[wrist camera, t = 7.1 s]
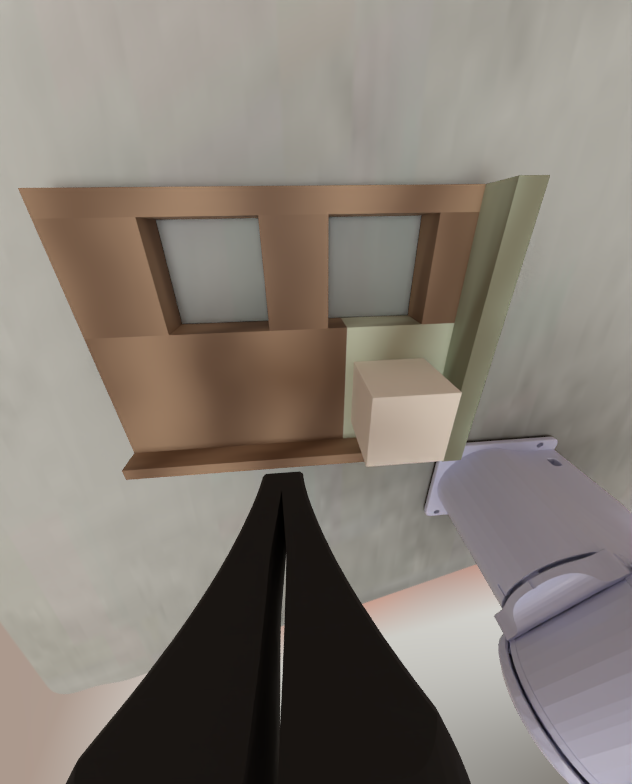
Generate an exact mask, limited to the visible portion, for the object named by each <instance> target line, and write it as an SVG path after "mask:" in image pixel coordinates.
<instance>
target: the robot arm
mask: <svg viewBox="0 0 632 784" xmlns="http://www.w3.org/2000/svg"><path fill="white" fill-rule="evenodd" d="M557 443H558V441H557V440H556V439H555V438H554V437H538V438H525V439H511V440H498V441H484V442H470V443H466V445H465V448H464V451H463V455H462V458H461V460H456V461H443V462H442V461H437V462H436V466H435V469H434V473H433V477H432V481H431V485H430V489H429V493H428V497H427V500H426V504H425V508H424V512H425V514H426V515H428V516H432V515H443V514H448V515H449V517H450V519H451V520H452V522H453V524H454V526H455V527H456V529H457V531H458V532H459V534H460V536H461V538H462V539H463V541H464V543H465V545H466V546H467V548H468V550H469V552H470V553H471V555H472V557H473V559H474V560H475V562H476V564H477V565H478V567H479V569H480V571H481V572H482V574H483V576H484V577H485V579H486V581H487V583H488V584H489V586H490V588H491V590H492V592H493V593H494V595H495V597H496V598H497V600H498V602H499V604H500V606H501V607H502V610H501V611H500V612H499V613H497V614H495V616H494V617H495V618H496V620H497V622H498V624H499V626H500V628H501V630H502V632H503V633H504V634H503V635H502V636H501V638H500V640H499V644H498V645H499V658H500V663H501V668H502V673H503V677H504V680H505V684H506V687H507V689H508V692H509V695H510V697H511V699H512V702H513V704H514V706H515V708H516V710H517V712H518V714H519V716H520V718H521V720H522V722H523V723H524V725H525V727H526V729H527V730H528V732H529V733H530V735H531V737H532V738H533V740H534V741H535V743H536V744H537V746H538V747H539V748H540V750H541V751H542V753H543V754H544V756H545V757H546V758H547V759H548V761H549V762H550V763H551V765H552V766H553V767H554V768H555V769H556V770H557V771H558V773H559V774H560V775H561V776H562V777H563V778H564V779H565V780H566V781H567V782H568V783H569V784H632V513H631V512H630V511H629V510H628V509H627V508H626V507H625V506H624V505H623V504H621V503H620V502H619V501H618V500H616V499H615V498H614V497H613V496H611V495H610V494H609V493H608V492H606V491H605V490H604V489H603V488H601V487H600V486H599V485H598V484H596V483H595V482H594V481H593V480H592V479H590V478H589V477H588V476H587V475H585V474H584V473H583V472H582V471H580V470H579V469H578V468H577V467H575V466H574V465H573V464H572V463H570V462H569V461H568V460H567V459H565V458H564V457H563V456H562V455H560V454H559V453H558V452H557V451H555V450H554V449H555V447H556V445H557ZM285 561H286V597H285V628H284V653H283V654H284V655H283V681H282V701H281V702H282V703H281V722H280V634H281V631H280V629H281V609H282V597H283V585H284V573H285ZM66 784H471V783H470V780H469V777H468V774H467V772H466V769H465V767H464V765H463V762H462V760H461V757H460V755H459V753H458V751H457V748H456V746H455V744H454V742H453V740H452V738H451V736H450V734H449V732H448V730H447V728H446V726H445V724H444V722H443V720H442V718H441V717H440V715H439V713H438V711H437V709H436V707H435V706H434V705H433V703H432V702H431V701H430V699H429V698H428V697H427V696H426V694H425V693H424V692H423V690H422V689H421V688H420V686H419V685H418V684H417V682H416V681H415V680H414V678H413V677H412V676H411V674H410V673H409V672H408V670H407V669H406V668H405V666H404V665H403V664H402V662H401V661H400V660H399V658H398V657H397V655H396V654H395V652H394V651H393V650H392V648H391V647H390V646H389V644H388V643H387V641H386V640H385V638H384V637H383V635H382V634H381V632H380V631H379V629H378V628H377V626H376V625H375V623H374V622H373V621H372V619H371V617H370V616H369V614H368V613H367V611H366V610H365V608H364V607H363V605H362V604H361V602H360V600H359V599H358V597H357V596H356V594H355V592H354V591H353V589H352V587H351V586H350V584H349V582H348V581H347V579H346V577H345V575H344V573H343V572H342V570H341V568H340V566H339V565H338V563H337V561H336V559H335V557H334V555H333V553H332V551H331V549H330V547H329V545H328V543H327V541H326V539H325V537H324V535H323V533H322V530H321V528H320V526H319V524H318V521H317V519H316V516H315V514H314V512H313V509H312V506H311V504H310V501H309V498H308V495H307V491H306V488H305V483H304V478H303V474H302V473H301V472H288V473H275V474H266V475H265V476H263V479H262V482H261V485H260V488H259V491H258V494H257V496H256V499H255V501H254V503H253V506H252V508H251V510H250V512H249V515H248V517H247V519H246V521H245V523H244V525H243V527H242V529H241V531H240V533H239V535H238V537H237V539H236V541H235V543H234V545H233V546H232V548H231V550H230V552H229V554H228V556H227V558H226V559H225V561H224V563H223V564H222V566H221V568H220V570H219V571H218V573H217V575H216V576H215V578H214V580H213V581H212V583H211V584H210V586H209V588H208V589H207V591H206V592H205V594H204V595H203V597H202V598H201V600H200V601H199V603H198V604H197V606H196V607H195V609H194V610H193V612H192V613H191V615H190V616H189V618H188V619H187V621H186V622H185V624H184V625H183V626H182V628H181V629H180V631H179V632H178V633H177V635H176V636H175V638H174V639H173V640H172V642H171V643H170V644H169V646H168V647H167V648H166V650H165V651H164V652H163V654H162V655H161V656H160V658H159V659H158V660H157V662H156V663H155V664H154V666H153V667H152V668H151V670H150V671H149V672H148V674H147V675H146V677H145V678H144V679H143V680H142V682H141V683H140V684H139V685H138V687H137V688H136V689H135V691H134V692H133V693H132V694H131V696H130V697H129V698H128V700H127V701H126V702H125V703H124V704H123V705H122V707H121V708H120V709H119V710H118V711H117V713H116V714H115V715H114V716H113V717H112V719H111V720H110V721H109V722H108V724H107V725H106V726H105V727H104V728H103V730H102V731H101V732H100V733H99V735H98V736H97V737H96V738H95V739H94V741H93V742H92V743H91V744H90V746H89V747H88V748H87V749H86V751H85V752H84V753H83V754H82V755H81V757H80V758H79V759H78V761H77V763H76V765H75V767H74V769H73V771H72V772H71V775H70V776H69V778H68V780H67V783H66Z"/></svg>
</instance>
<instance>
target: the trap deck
mask: <svg viewBox="0 0 632 784" xmlns="http://www.w3.org/2000/svg"><path fill="white" fill-rule="evenodd" d="M549 178H550V175H519V176H515V177H512V178H508V179H504V180H500V181H496V182H492V183H489V184H452V185H332V186H211V187H91V188H18V189H19V191H20V194H21V196H22V198H23V201H24V203H25V205H26V207H27V210H28V212H29V214H30V216H31V219H32V221H33V223H34V226H35V228H36V230H37V232H38V235H39V237H40V239H41V241H42V244H43V246H44V248H45V251H46V253H47V255H48V257H49V260H50V262H51V264H52V266H53V269H54V271H55V273H56V276H57V278H58V280H59V282H60V285H61V287H62V289H63V292H64V294H65V296H66V298H67V301H68V303H69V305H70V307H71V310H72V312H73V314H74V317H75V319H76V321H77V323H78V326H79V328H80V330H81V332H82V335H83V337H84V339H85V342H86V344H87V346H88V348H89V351H90V353H91V355H92V357H93V360H94V362H95V364H96V367H97V369H98V371H99V373H100V376H101V378H102V380H103V382H104V385H105V387H106V389H107V392H108V394H109V396H110V398H111V401H112V403H113V405H114V408H115V410H116V412H117V414H118V417H119V419H120V421H121V423H122V426H123V428H124V430H125V433H126V435H127V437H128V439H129V442H130V444H131V446H132V448H133V451H134V455H133V456H132V457H131V459H130V460H129V462H128V463H127V464H126V466H125V467H124V469H123V470H122V472H123V474H124V476H125V478H126V480H129V479H142V478H155V477H169V476H182V475H195V474H208V473H221V472H234V471H247V470H261V469H274V468H287V467H300V466H313V465H326V464H339V463H352V462H365V461H364V458H363V456H362V453H361V450H360V447H359V444H358V441H357V438H356V435H355V432H354V429H353V426H352V423H351V406H352V387H353V367H354V362H359V361H378V360H397V359H416V358H424V359H425V360H426V361H427V362H429V363H430V364H431V365H432V366H433V367H434V368H435V369H436V370H437V371H439V372H440V373H441V374H442V375H443V376H444V377H445V378H446V379H447V380H449V381H450V382H451V383H452V384H453V385H454V386H455V387H456V388H457V389H459V390H460V391H461V392H462V395H461V398H460V402H459V406H458V409H457V413H456V417H455V420H454V424H453V428H452V431H451V435H450V439H449V442H448V446H447V450H446V453H445V457H444V461H456V460H461V458H462V455H463V451H464V448H465V445H466V442H467V439H468V436H469V432H470V429H471V426H472V423H473V420H474V416H475V413H476V410H477V407H478V404H479V401H480V397H481V394H482V391H483V388H484V385H485V381H486V378H487V375H488V372H489V369H490V366H491V362H492V359H493V356H494V353H495V350H496V346H497V343H498V340H499V337H500V334H501V331H502V327H503V324H504V321H505V318H506V315H507V311H508V308H509V305H510V302H511V299H512V295H513V292H514V289H515V286H516V283H517V280H518V276H519V273H520V270H521V267H522V264H523V260H524V257H525V254H526V251H527V248H528V245H529V241H530V238H531V235H532V232H533V229H534V225H535V222H536V219H537V216H538V213H539V210H540V206H541V203H542V200H543V197H544V194H545V190H546V187H547V184H548V181H549ZM415 215H422V218H421V225H420V232H419V239H418V246H417V253H416V260H415V267H414V274H413V281H412V288H411V295H410V302H409V309H408V315H398V316H374V317H349V318H328V217H352V216H415ZM227 218H258V220H259V230H260V240H261V249H262V259H263V269H264V279H265V289H266V299H267V309H268V319H269V321H251V322H226V323H202V324H182V322H181V318H180V315H179V311H178V307H177V303H176V299H175V295H174V291H173V287H172V283H171V279H170V275H169V271H168V267H167V264H166V260H165V256H164V252H163V248H162V244H161V240H160V236H159V232H158V228H157V224H156V220H164V219H227ZM442 462H443V461H442Z"/></svg>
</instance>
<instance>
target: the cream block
mask: <svg viewBox="0 0 632 784" xmlns="http://www.w3.org/2000/svg"><path fill="white" fill-rule="evenodd" d="M461 395H462V392H461V391H460V390H459V389H457V388H456V387H455V386H454V385H453V384H452V383H451V382H450V381H449V380H447V379H446V378H445V377H444V376H443V375H442V374H441V373H440V372H439V371H437V370H436V369H435V368H434V367H433V366H432V365H431V364H430V363H429V362H427V361H426V360H425V359H424V358H416V359H397V360H378V361H359V362H354V367H353V387H352V406H351V423H352V426H353V429H354V432H355V435H356V438H357V441H358V444H359V447H360V450H361V453H362V456H363V458H364V461H365V464H366V467H371V466H384V465H397V464H409V463H422V462H435V461H444V457H445V453H446V450H447V446H448V442H449V439H450V435H451V431H452V428H453V424H454V420H455V417H456V413H457V409H458V406H459V402H460V398H461Z"/></svg>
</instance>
